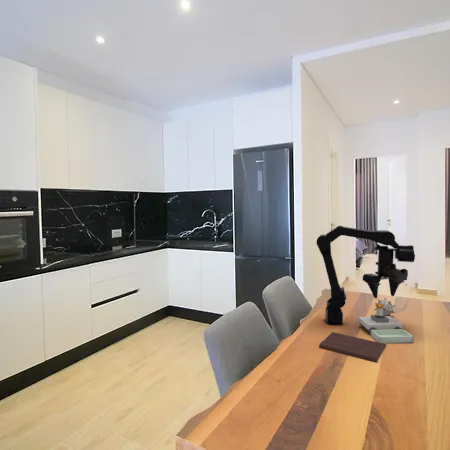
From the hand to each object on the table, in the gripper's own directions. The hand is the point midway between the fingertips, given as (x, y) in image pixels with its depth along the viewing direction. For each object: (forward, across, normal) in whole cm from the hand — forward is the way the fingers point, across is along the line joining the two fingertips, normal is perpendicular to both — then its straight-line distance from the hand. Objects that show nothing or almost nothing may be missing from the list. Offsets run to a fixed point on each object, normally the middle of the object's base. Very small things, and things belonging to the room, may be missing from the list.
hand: (384, 297), depth 137 cm
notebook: (+14, -25, -11) cm, 31 cm away
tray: (+13, -7, -11) cm, 18 cm away
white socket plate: (+13, -4, -2) cm, 14 cm away
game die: (+13, +11, +10) cm, 20 cm away
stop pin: (+9, -4, -2) cm, 10 cm away
